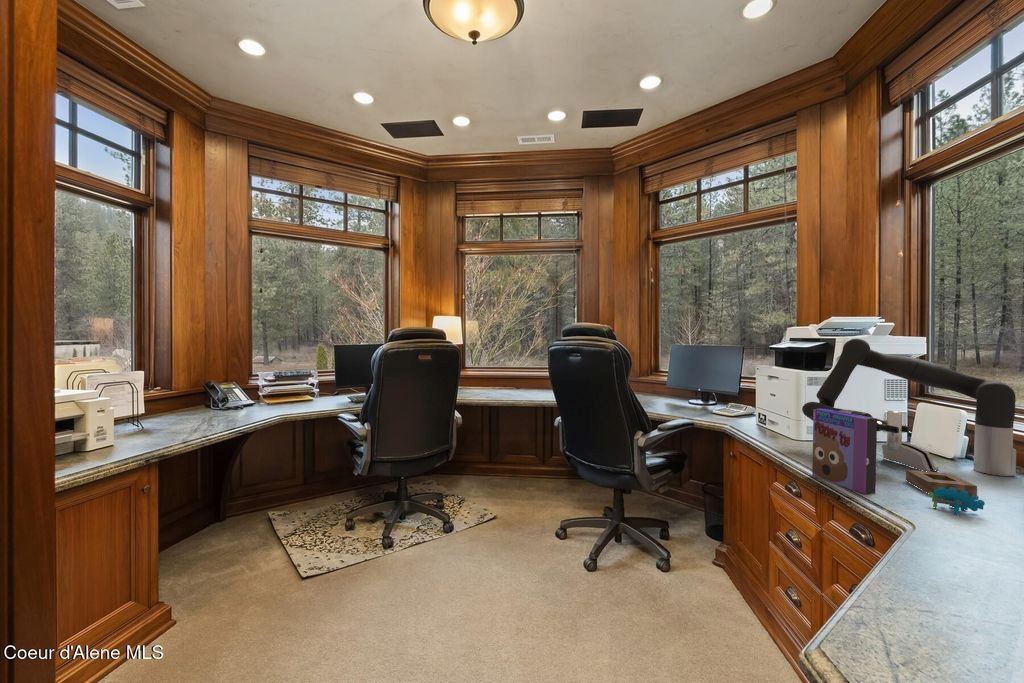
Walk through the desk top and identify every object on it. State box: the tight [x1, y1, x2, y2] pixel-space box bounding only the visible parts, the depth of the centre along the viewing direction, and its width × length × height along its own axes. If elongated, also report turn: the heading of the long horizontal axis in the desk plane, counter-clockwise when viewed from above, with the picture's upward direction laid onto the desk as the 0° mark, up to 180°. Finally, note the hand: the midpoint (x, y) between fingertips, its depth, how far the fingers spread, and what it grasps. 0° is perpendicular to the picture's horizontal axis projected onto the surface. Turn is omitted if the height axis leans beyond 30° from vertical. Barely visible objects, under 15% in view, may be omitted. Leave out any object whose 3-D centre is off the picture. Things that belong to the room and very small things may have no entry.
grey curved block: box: [881, 441, 940, 472], centre depth 161 cm, size 17×5×10 cm, turn 6°
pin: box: [886, 410, 903, 452], centre depth 151 cm, size 4×4×14 cm
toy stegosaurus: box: [927, 487, 986, 515], centre depth 119 cm, size 11×6×10 cm
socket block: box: [905, 469, 978, 497], centre depth 137 cm, size 12×12×4 cm
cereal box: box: [811, 409, 878, 495], centre depth 141 cm, size 17×5×24 cm, turn 14°
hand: (903, 429), depth 149 cm, fingers closed on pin, 4 cm apart
